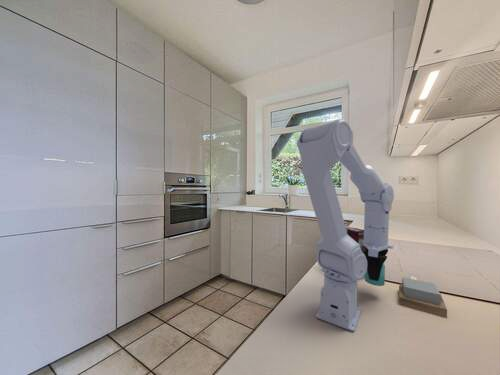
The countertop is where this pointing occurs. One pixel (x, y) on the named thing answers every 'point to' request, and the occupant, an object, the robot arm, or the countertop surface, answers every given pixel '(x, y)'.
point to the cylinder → (381, 278)
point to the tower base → (422, 304)
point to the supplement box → (356, 237)
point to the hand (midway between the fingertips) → (374, 276)
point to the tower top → (421, 290)
